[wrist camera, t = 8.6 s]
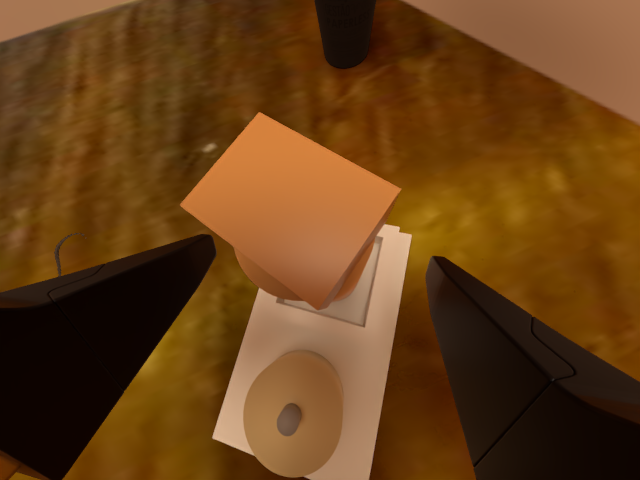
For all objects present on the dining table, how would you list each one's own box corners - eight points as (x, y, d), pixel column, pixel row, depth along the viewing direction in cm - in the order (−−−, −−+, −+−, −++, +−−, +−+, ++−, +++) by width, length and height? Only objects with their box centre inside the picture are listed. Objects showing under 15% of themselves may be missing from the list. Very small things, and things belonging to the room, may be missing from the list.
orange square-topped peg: (338, 313, 18) (304, 349, 4) (293, 280, 19) (153, 224, 5) (369, 266, 18) (427, 168, 5) (324, 236, 19) (270, 89, 6)
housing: (363, 487, 16) (370, 574, 11) (221, 429, 18) (170, 478, 13) (408, 238, 20) (427, 217, 15) (287, 213, 22) (269, 187, 17)
